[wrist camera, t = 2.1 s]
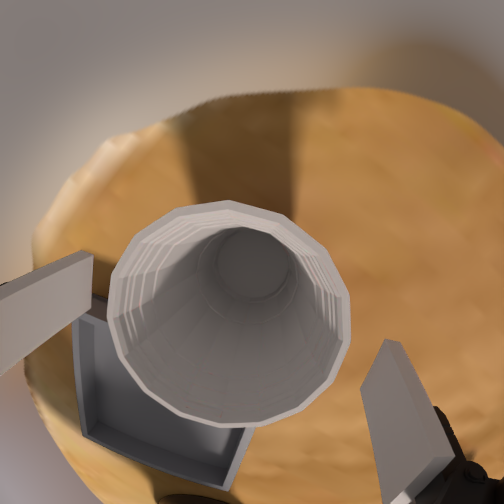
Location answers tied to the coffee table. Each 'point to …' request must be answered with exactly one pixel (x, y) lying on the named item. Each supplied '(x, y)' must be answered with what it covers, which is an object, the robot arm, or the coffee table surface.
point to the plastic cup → (229, 314)
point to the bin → (144, 413)
